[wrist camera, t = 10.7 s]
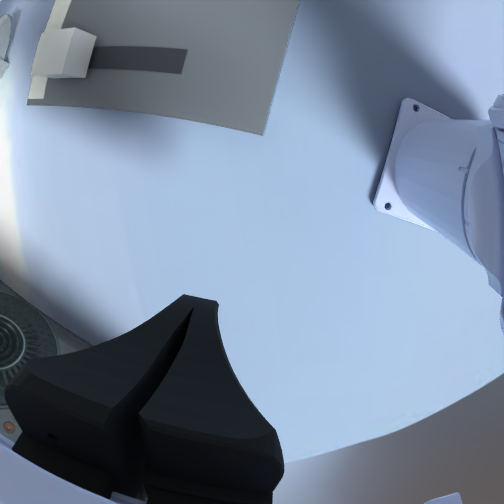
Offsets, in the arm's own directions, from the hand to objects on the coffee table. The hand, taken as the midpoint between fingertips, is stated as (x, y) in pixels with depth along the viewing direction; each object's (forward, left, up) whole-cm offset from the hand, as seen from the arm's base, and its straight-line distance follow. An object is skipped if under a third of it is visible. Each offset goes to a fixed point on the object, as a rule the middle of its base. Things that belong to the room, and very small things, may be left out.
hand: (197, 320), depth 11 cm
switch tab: (+13, -10, -8) cm, 19 cm away
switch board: (+9, -18, -10) cm, 22 cm away
